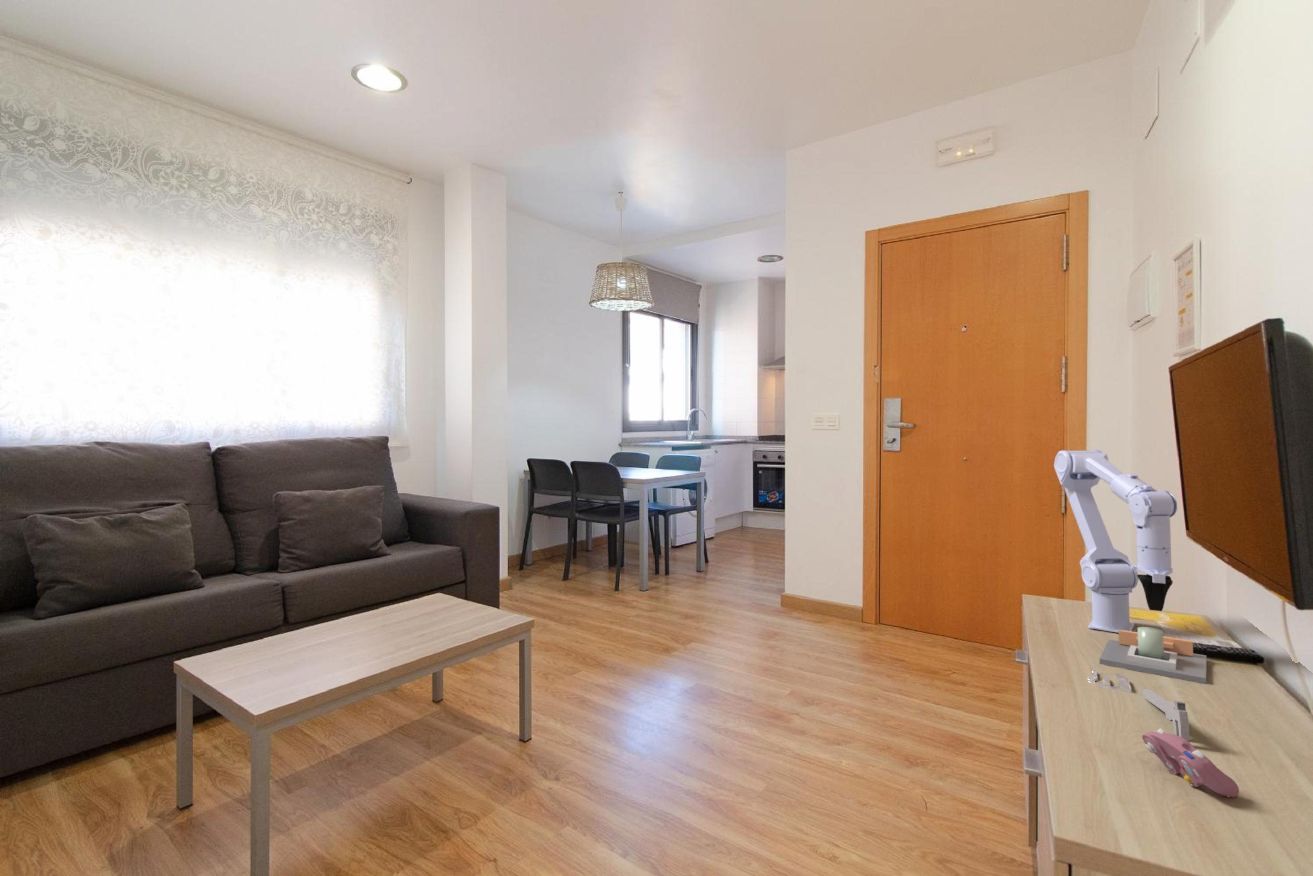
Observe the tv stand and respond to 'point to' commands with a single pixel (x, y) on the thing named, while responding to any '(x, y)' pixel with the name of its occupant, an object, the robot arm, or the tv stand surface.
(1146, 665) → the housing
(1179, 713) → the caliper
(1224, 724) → the tv stand surface
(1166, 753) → the video game controller
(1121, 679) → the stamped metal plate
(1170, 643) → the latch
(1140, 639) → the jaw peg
